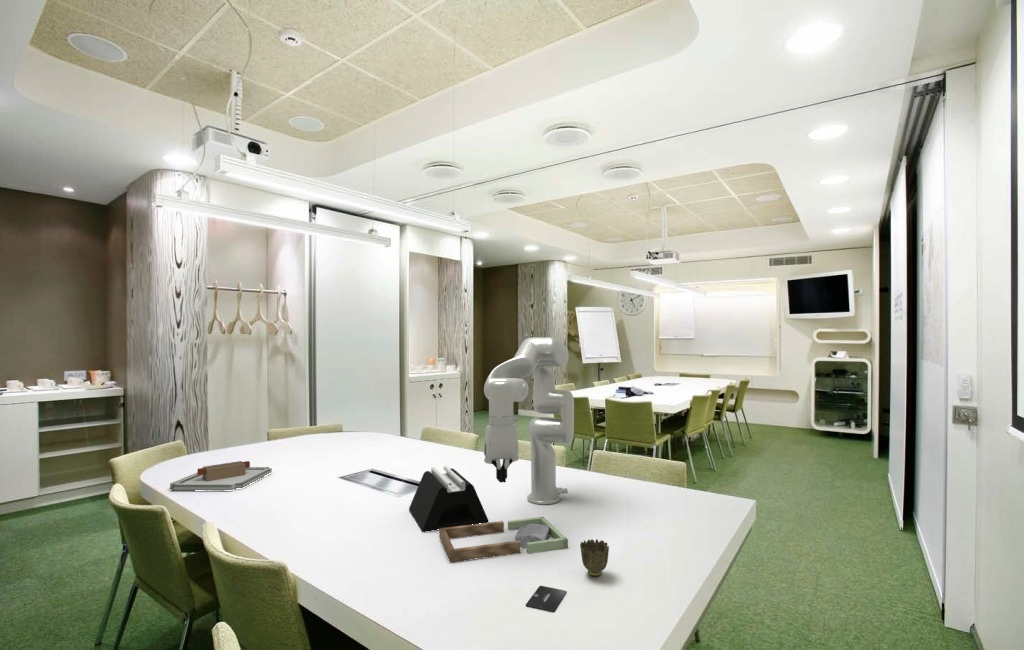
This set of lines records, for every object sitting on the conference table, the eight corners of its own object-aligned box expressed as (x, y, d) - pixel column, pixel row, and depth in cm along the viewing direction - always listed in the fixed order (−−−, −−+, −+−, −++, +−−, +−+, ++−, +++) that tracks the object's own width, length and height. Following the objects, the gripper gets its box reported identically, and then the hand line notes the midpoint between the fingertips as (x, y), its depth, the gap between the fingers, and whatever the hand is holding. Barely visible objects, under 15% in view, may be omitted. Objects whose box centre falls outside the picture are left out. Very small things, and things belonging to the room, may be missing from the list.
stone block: (514, 554, 145) (547, 549, 143) (511, 537, 145) (544, 533, 144) (521, 540, 156) (552, 535, 155) (518, 524, 157) (548, 520, 155)
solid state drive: (525, 608, 112) (525, 605, 112) (540, 588, 121) (540, 585, 122) (554, 614, 110) (554, 611, 110) (567, 593, 119) (567, 590, 119)
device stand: (422, 533, 157) (422, 486, 157) (408, 511, 177) (409, 469, 178) (488, 523, 165) (488, 478, 166) (468, 503, 186) (468, 463, 187)
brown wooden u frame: (502, 530, 158) (502, 520, 158) (520, 552, 141) (520, 542, 141) (439, 538, 152) (439, 528, 152) (449, 562, 135) (449, 551, 135)
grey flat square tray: (237, 493, 201) (238, 474, 201) (165, 492, 202) (166, 474, 202) (274, 473, 231) (274, 457, 231) (211, 473, 232) (211, 457, 232)
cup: (577, 569, 131) (577, 539, 131) (604, 568, 131) (604, 538, 131) (584, 583, 123) (583, 550, 123) (612, 581, 124) (612, 549, 124)
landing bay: (543, 524, 163) (543, 516, 164) (568, 547, 144) (567, 539, 145) (507, 528, 160) (507, 520, 160) (528, 553, 141) (528, 544, 141)
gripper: (520, 417, 156) (520, 475, 155) (474, 420, 151) (475, 480, 151) (528, 421, 149) (528, 482, 148) (480, 424, 144) (481, 487, 144)
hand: (501, 481), depth 150 cm, fingers closed
